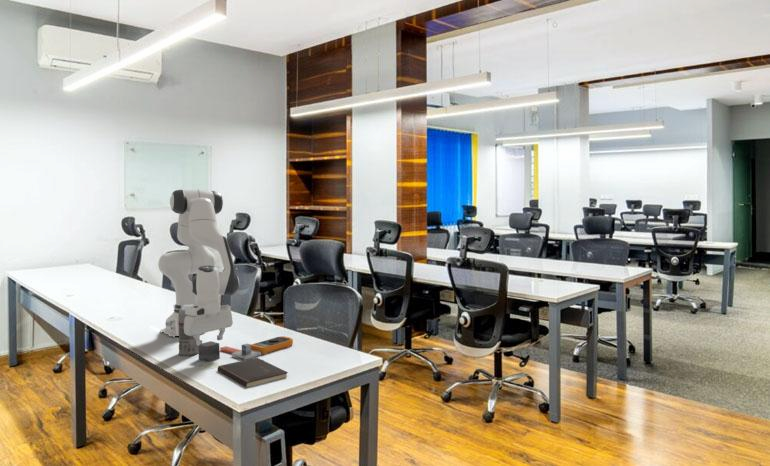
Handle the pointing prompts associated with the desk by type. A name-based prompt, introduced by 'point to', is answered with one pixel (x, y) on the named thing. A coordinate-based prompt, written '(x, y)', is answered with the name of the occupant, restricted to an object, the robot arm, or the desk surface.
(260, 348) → the multimeter
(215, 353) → the brushed metal cube
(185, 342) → the spray can
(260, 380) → the hardcover book
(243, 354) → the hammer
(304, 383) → the desk surface
